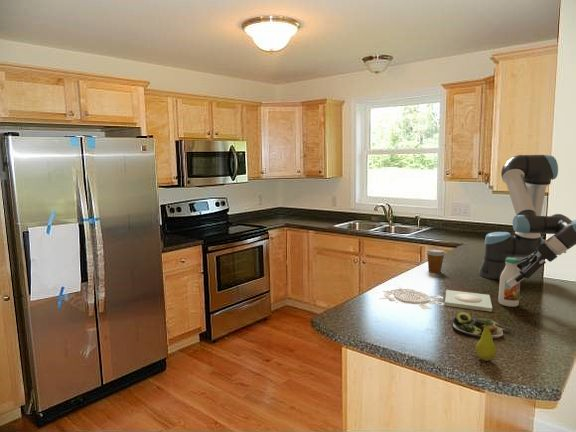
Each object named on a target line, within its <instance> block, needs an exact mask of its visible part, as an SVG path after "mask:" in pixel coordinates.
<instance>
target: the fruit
mask: <svg viewBox="0 0 576 432" xmlns="http://www.w3.org/2000/svg"><path fill="white" fill-rule="evenodd" d="M483 323H484V324H485V322H484V320H483ZM480 335H481V338H480V339H479V340H478V342H477V343H476V344H475V352H476V353H475V354H477V356H478V358H480V359H481V360H482V361H484V362H487V361H492V360H493V359H494V358H495V357H496V354H497V348H496V345H495V343H494V340H493V339H494V338H492V335H493V334H492V333H491V332H490V330H489V329H488V328H487V327H486V324H485V327H484V330H483V332H482V333H481V334H480Z"/></svg>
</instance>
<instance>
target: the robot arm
mask: <svg viewBox="0 0 576 432" xmlns="http://www.w3.org/2000/svg"><path fill="white" fill-rule="evenodd" d="M557 161H558V160H557V158H555V156H554V155H549V154H518V155H514V156H512V157H509V159H507V160H506V162H505V163H504V164H503V166H502V169H501V172H500V173H501V179H502V181H503V183H504V184H506V188H507V190H508V194H509V196H510V200H511V202H512V206H513V209H514V212H515V215H514V217H513V219H512V228H513V231H514V235H512V234H511V233H510V232H508V231H493V232H489V233H487V234H486V235H485V237H484V238H485V239H484V251H483V261H482V263H481V265H480V267H479V270H478V275H479V276H481V277H483V278H487V279H491V280H499V281H500V276H501V273H502V271H503V270H504V268H505V266H506V263H505V262H506V258H516V259H518V264H517V269H518V272H519V274H517V275H516V276H514V277H513V278H511V279H510V280H509V281H507V282H506V283H507V284H508V285H509V286H510V287H511V288H512V287H513V286H515V285H516V284H517V283H519V282H520V283H521V281H523V280H524V279H529V278H531V277H532V275H534V274H535V273H536V272H537V271H538V270H539V269H540V268H541V267H542V266H544V265H545V264H546V263H547V262H546V261H545V260H547V261H548V262H550V263H551V262H552V261H554V260H556V259H557V258H558V256H561V255H562V254H566V253H567V251H568V250H570V249H571V248H572V247H574V246H576V218H575V219H574V220H572V219H570V218H569V217H567V216H565V214H561V213H555V214H552V215H549V216H548V215H542V211H543V206H544V201H545V194H546V190H547V187H548V186H549V185H551V182H552V180H555V179H556V178H557V177H558V174H559V165H558V162H557ZM541 234H542V235H543V234H546V235H552V236H550V237H548V238H547V239H546V240H544V238H543V237H542V236H541Z"/></svg>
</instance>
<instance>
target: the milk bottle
mask: <svg viewBox="0 0 576 432" xmlns="http://www.w3.org/2000/svg"><path fill="white" fill-rule="evenodd" d="M518 261H519V258H512V257H509V258H506V262H505V263H506V266H505V268H504V270H503V271H502V273H501V276H500V280H499V285H498V286H499V287H498V304H500V305H502V306H506V307H510V308H511V307H515V308H516V307H518V306H519V303H520V293H521V292H520V290H521V281H520V282H519V283H517V284H516V285H515V286H513V287H512V288H511V287H510V286H509V285H508V284H507V283H506V282H507V281H509V280H510V279H511V278H513V277H514V276H516V275H517V274H519V273H520V271H518V269H517V264H518Z"/></svg>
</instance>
